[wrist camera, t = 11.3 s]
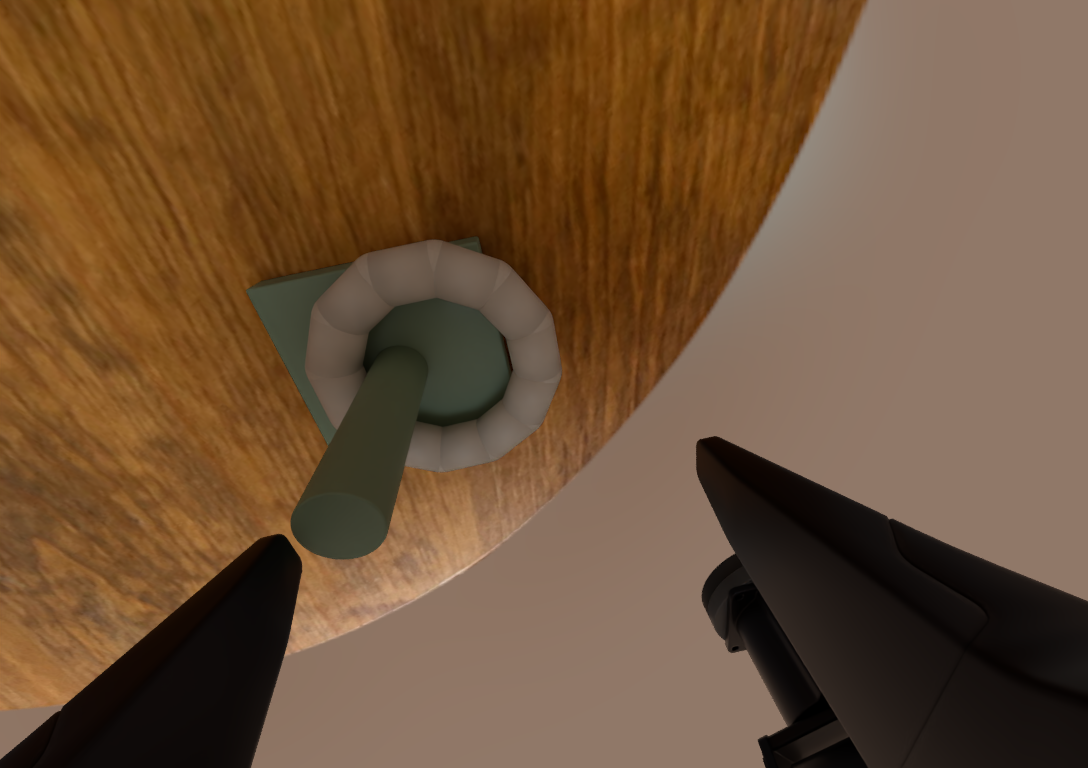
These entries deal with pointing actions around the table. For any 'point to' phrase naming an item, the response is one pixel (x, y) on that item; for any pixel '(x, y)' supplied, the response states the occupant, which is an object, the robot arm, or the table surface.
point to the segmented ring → (455, 279)
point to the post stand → (380, 401)
